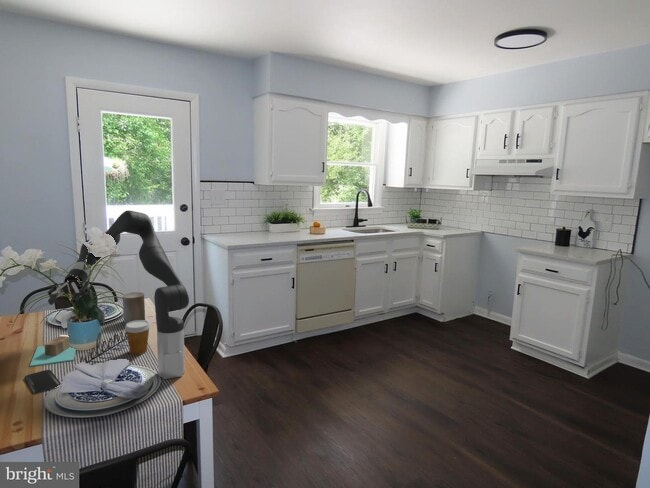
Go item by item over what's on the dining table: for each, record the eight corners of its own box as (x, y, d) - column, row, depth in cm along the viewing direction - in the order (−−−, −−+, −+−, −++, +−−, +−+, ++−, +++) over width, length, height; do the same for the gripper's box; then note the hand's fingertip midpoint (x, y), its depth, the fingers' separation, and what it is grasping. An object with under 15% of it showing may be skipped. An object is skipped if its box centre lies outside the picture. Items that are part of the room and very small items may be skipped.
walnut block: (56, 355, 162) (72, 345, 172) (55, 345, 161) (71, 335, 171) (45, 355, 162) (61, 345, 172) (44, 344, 161) (61, 334, 171)
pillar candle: (149, 319, 206) (148, 290, 204) (136, 326, 197) (135, 295, 195) (132, 317, 208) (131, 288, 206) (119, 323, 199) (117, 293, 197)
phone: (49, 369, 151) (61, 384, 141) (49, 371, 151) (61, 387, 141) (23, 375, 146) (34, 392, 135) (23, 378, 146) (34, 395, 136)
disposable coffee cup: (142, 344, 177) (141, 318, 175) (155, 350, 172) (155, 323, 170) (121, 351, 169) (119, 324, 167) (134, 358, 164) (133, 329, 162)
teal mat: (73, 360, 160) (73, 359, 160) (29, 366, 154) (29, 365, 154) (77, 342, 176) (77, 341, 176) (37, 347, 169) (37, 346, 169)
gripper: (57, 269, 170) (38, 297, 157) (92, 267, 170) (76, 294, 157) (65, 282, 174) (47, 310, 161) (99, 280, 175) (83, 308, 162)
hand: (61, 302), depth 159 cm, fingers open, 8 cm apart
